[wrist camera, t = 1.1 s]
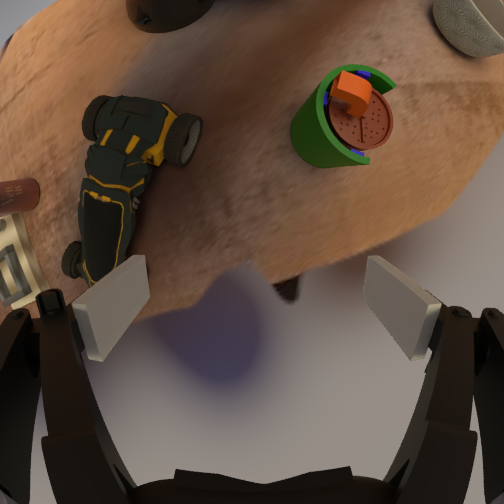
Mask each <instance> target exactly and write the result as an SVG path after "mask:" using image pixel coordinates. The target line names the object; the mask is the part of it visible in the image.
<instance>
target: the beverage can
mask: <svg viewBox="0 0 504 504" xmlns="http://www.w3.org/2000/svg"><path fill="white" fill-rule="evenodd" d="M38 200H39V187H38V185H37V183H36V182H35V181H34V180H33V179H22V180H13V181H5V182H0V217H4V216H7V215H11V214H15V213H19V212H23V211H27V210H31V209H33V208H34V207H35V206H36V204H37V203H38Z"/></svg>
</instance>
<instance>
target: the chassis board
mask: <svg viewBox="0 0 504 504" xmlns="http://www.w3.org/2000/svg"><path fill="white" fill-rule="evenodd" d="M48 289H50V287H49V285H48V282H47V280H46V278H45V276H44V274H43V271H42V269H41V267H40V264H39V262H38V259H37V257H36V254H35V252H34V249H33V246H32V244H31V241H30V238H29V235H28V232H27V229H26V226H25V223H24V220H23V217H22V214H21V212H19V213H15V214H11V215H7V216H4V217H0V298H1V300H2V302H3V304H4V306H5V307H7V306H9V305H11V306H12V308H13V310H14V309H17V308H20V307H22V306H24V305H26V304H28V303H30V302H32V301H34V300H36V299H35V297H36V295H37V294H39V293H40V292H42V291H45V290H48Z"/></svg>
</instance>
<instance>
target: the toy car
mask: <svg viewBox="0 0 504 504" xmlns="http://www.w3.org/2000/svg"><path fill="white" fill-rule="evenodd" d="M202 126H203V121H202V119H201V118H200V117H199V116H195V115H192V114H188V113H185V114H182V115H181V116H178V115H177V114H176V113H175V112H174V111H173V110H172V109H171V108H170V107H169V106H168V105H167V104H166V103H163V102H158V101H154V100H149V99H144V98H140V97H128V96H123V95H121V96H118V97H110V96H106V95H102V96H98V97H97V98H95V99H94V100H92V102H91V103H90V104H89V106H88V107H87V108H86V111H85V114H84V117H83V120H82V131H83V134H84V136H85V138H87V139H88V140H91V141H95V144H94V145H90V146H89V149H88V151H87V156H88V157H87V159H86V160H85V168H86V172H87V175H88V178H89V179H88V178H83V182H82V186H81V191H80V202H79V206H78V221H79V228H80V233H81V237H82V243H81V242H79V241H74V242H72V243H71V244H69V246H68V247H67V249H66V250H65V252H64V255H63V258H62V265H61V267H62V271H63V273H64V274H65V275H67V276H69V277H71V278H73V279H76V278H78V277H81V278H83V277H84V279H85V281H86V282H87V284H88V286H89V287H90V288H91V287H92V286H93V285H94V284H96V283H97V282H98V281H99V280H101V279H102V278H103V277H105V276H106V275H107V274H109V273H110V272H111V271H112V270H114V269H115V268H116V267H118V266H119V265H120V264H122V263H123V262H124V260H125V259H126V249H127V247H128V245H129V243H130V241H131V239H132V236H133V233H134V230H135V227H136V221H135V215H134V214H135V213H136V211H135V210H133V208H134V209H137V208H138V205H135V204H134V202H135V203H137V204H140V200H138V199H137V198H136V197H137V196H139V195H140V194H141V193H142V192H143V191H144V190H145V188H146V186H147V182H149V181H150V177H151V172H152V167H153V166H151V165H149V164H147V163H150V164H153V165H156V166H159V165H160V163H161V162H162V161H163V159H164V158H166V160H167V162H169V163H171V164H174V165H177V166H180V167H182V166H186V165H187V164H188V162H189V161H190V160H191V158H192V156H193V154H194V152H195V149H196V146H197V144H198V141H199V139H200V136H201V132H202ZM133 201H134V202H133ZM147 278H148V273H147Z"/></svg>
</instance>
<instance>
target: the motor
mask: <svg viewBox="0 0 504 504" xmlns="http://www.w3.org/2000/svg"><path fill="white" fill-rule="evenodd" d="M395 86H396V84H395V83H394V82H393V81H392V80H391V79H390V78H389V77H387V76H386V75H385V74H383V73H382V72H380V71H378V70H376V69H374V68H371V67H368V66H364V65H357V64H351V65H344V66H341V67H338V68H336V69H334V70H333V71H331V72H330V73H329V74H328V75H327V76H326V77H325V78H324V79H323V80H322V82H321V83H320V84H319V85H318V87H317V88H316V89H315V90H314V92H313V93H312V94H311V96H310V97H309V98H308V99H307V101H306V102H305V103H304V104H303V106H302V107H301V108H300V110H299V111H298V112H297V114H296V115H295V116H294V118H293V121H292V123H291V128H290V136H291V141H292V144H293V146H294V148H295V150H296V152H297V153H298V154H299V156H300V157H301V158H302V159H303V160H305V161H306V162H308V163H309V164H311V165H313V166H316V167H319V168H332V167H343V166H356V165H369V163H370V158H369V157H364V153H362V152H360V151H364V150H368V149H374V148H377V147H379V146H381V145H383V144H384V143H385V142H386V141H387V140H388V138H389V137H390V135H391V132H392V129H393V116H392V112H391V109H390V107H389V105H388V103H387V101H386V100H385V98H384V97H383V96H382V94H384V93H386V92H388V91H389V90H391V89H393V88H394V87H395Z"/></svg>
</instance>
